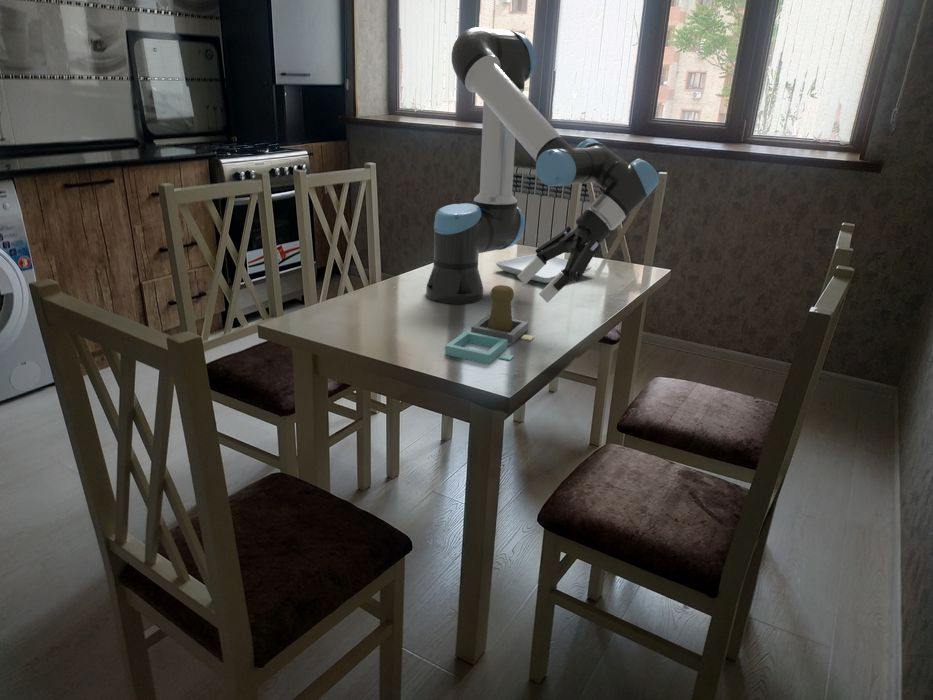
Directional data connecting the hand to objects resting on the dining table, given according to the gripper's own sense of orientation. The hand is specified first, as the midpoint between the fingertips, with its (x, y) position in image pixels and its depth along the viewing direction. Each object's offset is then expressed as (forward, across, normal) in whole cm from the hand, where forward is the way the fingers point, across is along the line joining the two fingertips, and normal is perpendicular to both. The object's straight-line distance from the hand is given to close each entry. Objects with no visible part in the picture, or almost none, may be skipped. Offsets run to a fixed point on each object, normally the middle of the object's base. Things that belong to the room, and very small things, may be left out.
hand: (531, 289), depth 148 cm
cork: (+12, +2, -3) cm, 13 cm away
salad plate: (-8, +47, -24) cm, 54 cm away
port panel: (+14, -4, -1) cm, 15 cm away
